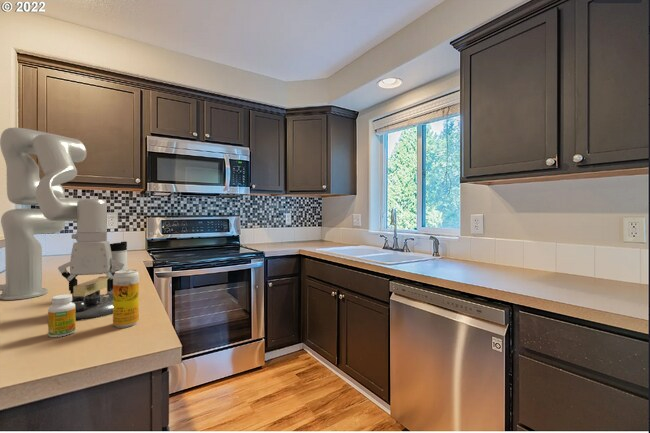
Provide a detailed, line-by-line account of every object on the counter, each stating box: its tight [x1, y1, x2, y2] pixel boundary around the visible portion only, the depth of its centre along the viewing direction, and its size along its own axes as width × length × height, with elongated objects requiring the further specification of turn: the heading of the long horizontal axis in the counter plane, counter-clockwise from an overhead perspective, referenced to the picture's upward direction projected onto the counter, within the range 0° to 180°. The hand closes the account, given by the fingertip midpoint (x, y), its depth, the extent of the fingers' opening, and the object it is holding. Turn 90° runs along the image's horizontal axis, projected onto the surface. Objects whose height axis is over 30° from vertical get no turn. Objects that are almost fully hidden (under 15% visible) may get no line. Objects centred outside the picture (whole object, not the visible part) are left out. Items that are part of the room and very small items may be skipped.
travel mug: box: [106, 241, 128, 296], centre depth 116 cm, size 6×7×20 cm
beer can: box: [112, 268, 140, 329], centre depth 87 cm, size 6×6×15 cm
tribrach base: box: [71, 294, 113, 321], centre depth 98 cm, size 18×18×4 cm
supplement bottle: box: [47, 293, 76, 338], centre depth 80 cm, size 5×5×10 cm
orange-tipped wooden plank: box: [73, 275, 109, 305], centre depth 99 cm, size 13×4×7 cm, turn 5°
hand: (92, 291), depth 98 cm, fingers open, 9 cm apart
